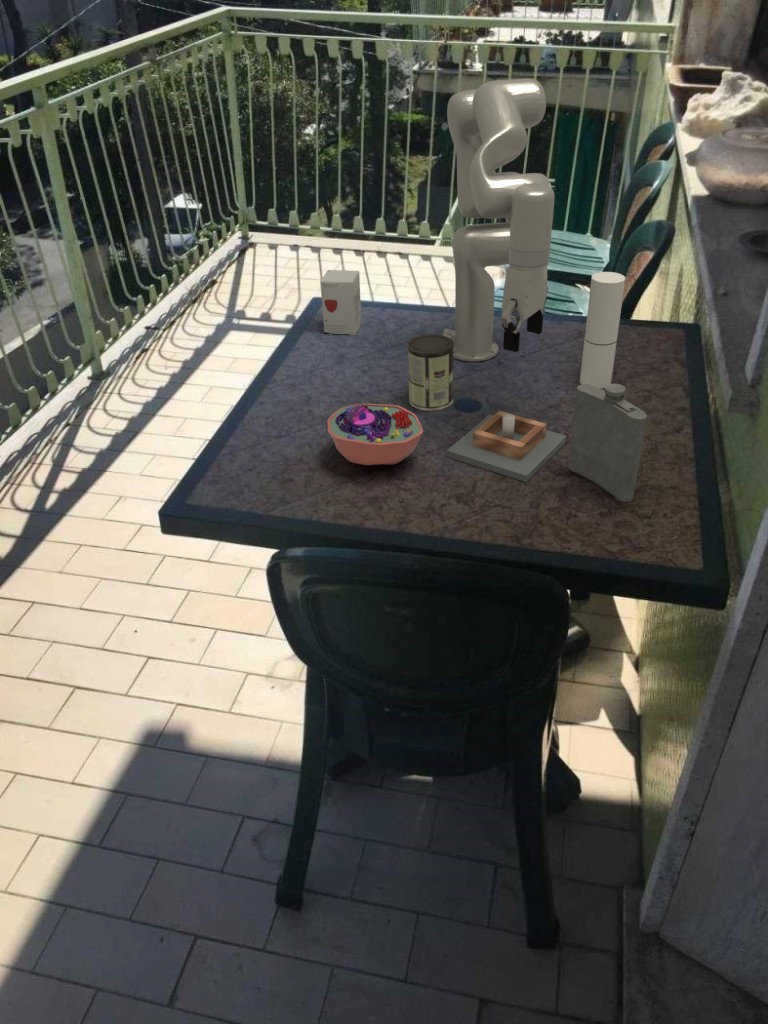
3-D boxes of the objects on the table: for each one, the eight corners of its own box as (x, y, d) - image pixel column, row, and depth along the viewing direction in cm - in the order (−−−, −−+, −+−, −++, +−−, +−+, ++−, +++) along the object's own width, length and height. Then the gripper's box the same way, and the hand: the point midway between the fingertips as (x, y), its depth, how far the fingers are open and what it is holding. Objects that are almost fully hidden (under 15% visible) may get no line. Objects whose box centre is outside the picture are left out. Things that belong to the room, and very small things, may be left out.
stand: (446, 456, 166) (447, 424, 162) (489, 420, 178) (491, 389, 174) (526, 482, 157) (528, 449, 153) (566, 442, 169) (569, 410, 165)
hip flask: (564, 466, 161) (574, 375, 150) (580, 460, 163) (591, 369, 152) (624, 504, 150) (640, 407, 139) (640, 496, 152) (656, 401, 140)
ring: (472, 445, 166) (473, 432, 165) (498, 423, 174) (499, 410, 172) (520, 460, 161) (521, 447, 159) (545, 436, 168) (546, 423, 167)
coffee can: (428, 386, 192) (428, 330, 184) (462, 399, 186) (463, 341, 178) (398, 402, 186) (397, 344, 178) (433, 416, 180) (433, 357, 172)
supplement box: (323, 335, 219) (318, 280, 211) (330, 322, 227) (326, 269, 218) (356, 336, 218) (353, 281, 209) (362, 323, 225) (359, 269, 217)
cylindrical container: (609, 375, 194) (623, 271, 179) (612, 388, 188) (627, 283, 173) (578, 374, 194) (590, 271, 180) (581, 388, 189) (593, 283, 174)
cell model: (396, 491, 156) (394, 440, 150) (312, 465, 166) (307, 415, 159) (439, 451, 168) (439, 402, 161) (358, 428, 177) (355, 381, 170)
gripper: (532, 239, 159) (526, 322, 169) (488, 266, 147) (484, 353, 158) (567, 245, 155) (559, 329, 165) (525, 273, 144) (519, 362, 154)
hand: (522, 341), depth 161 cm, fingers open, 9 cm apart
